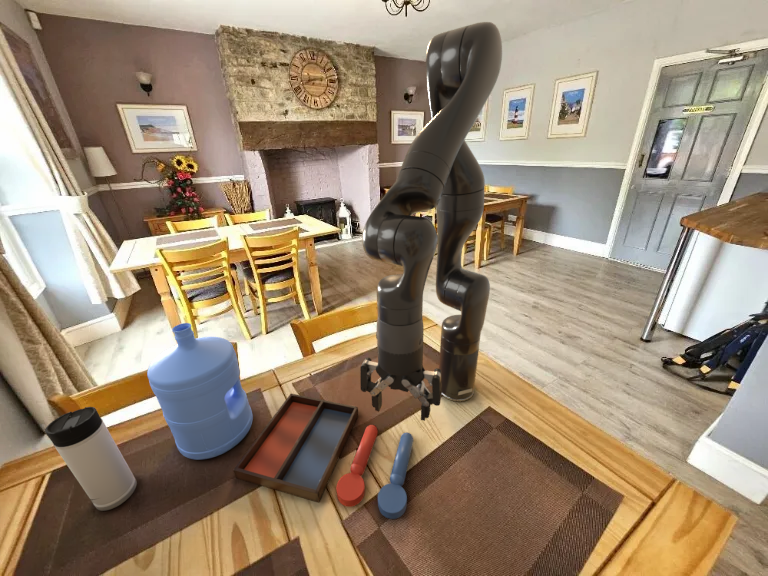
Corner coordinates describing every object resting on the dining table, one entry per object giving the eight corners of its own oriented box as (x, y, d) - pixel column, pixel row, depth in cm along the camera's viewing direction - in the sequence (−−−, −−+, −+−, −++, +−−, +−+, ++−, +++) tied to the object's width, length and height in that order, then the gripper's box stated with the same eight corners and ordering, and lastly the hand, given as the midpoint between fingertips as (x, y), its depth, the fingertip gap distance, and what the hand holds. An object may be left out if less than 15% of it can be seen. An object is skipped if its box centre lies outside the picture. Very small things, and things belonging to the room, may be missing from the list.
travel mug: (90, 520, 55) (34, 440, 46) (101, 487, 60) (52, 410, 52) (133, 502, 57) (87, 424, 49) (139, 472, 63) (99, 397, 54)
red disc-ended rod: (362, 428, 71) (362, 419, 70) (384, 433, 70) (384, 424, 69) (332, 502, 56) (331, 492, 55) (359, 510, 55) (358, 500, 54)
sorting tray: (292, 401, 79) (290, 393, 78) (358, 414, 75) (357, 406, 74) (236, 478, 61) (233, 469, 60) (318, 502, 56) (317, 493, 55)
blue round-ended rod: (396, 436, 69) (396, 427, 68) (419, 441, 68) (420, 432, 66) (374, 514, 54) (373, 504, 53) (403, 523, 53) (403, 513, 52)
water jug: (187, 477, 62) (136, 363, 50) (172, 429, 72) (128, 326, 61) (264, 432, 71) (236, 328, 59) (240, 395, 82) (213, 301, 70)
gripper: (446, 331, 52) (441, 404, 59) (366, 321, 56) (370, 391, 62) (441, 359, 45) (436, 437, 52) (350, 345, 49) (357, 420, 56)
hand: (400, 412), depth 57 cm, fingers open, 8 cm apart
